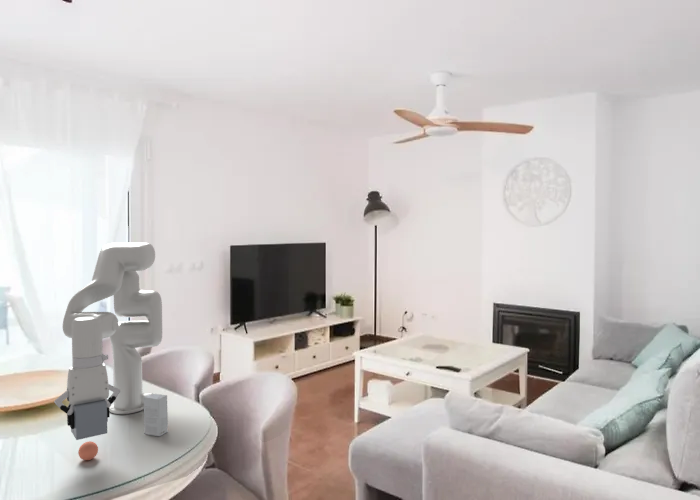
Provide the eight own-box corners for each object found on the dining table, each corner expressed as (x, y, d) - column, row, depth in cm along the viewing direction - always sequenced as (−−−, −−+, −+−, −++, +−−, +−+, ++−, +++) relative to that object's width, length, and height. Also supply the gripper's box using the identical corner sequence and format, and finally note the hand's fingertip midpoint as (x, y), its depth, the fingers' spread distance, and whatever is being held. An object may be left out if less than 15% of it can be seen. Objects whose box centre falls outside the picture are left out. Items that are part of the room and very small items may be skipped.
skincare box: (168, 431, 167) (167, 395, 166) (159, 437, 163) (158, 399, 162) (152, 429, 169) (152, 392, 168) (143, 434, 165) (143, 397, 164)
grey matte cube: (100, 424, 151) (100, 394, 150) (107, 433, 145) (106, 401, 144) (71, 431, 146) (70, 400, 145) (76, 440, 140) (75, 407, 139)
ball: (100, 453, 146) (98, 460, 149) (97, 436, 148) (95, 443, 152) (80, 458, 143) (78, 465, 146) (78, 440, 145) (76, 448, 149)
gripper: (117, 354, 153) (118, 413, 153) (49, 363, 142) (51, 427, 143) (124, 359, 147) (125, 420, 147) (54, 369, 136) (55, 435, 137)
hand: (88, 423), depth 145 cm, fingers closed on grey matte cube, 7 cm apart
